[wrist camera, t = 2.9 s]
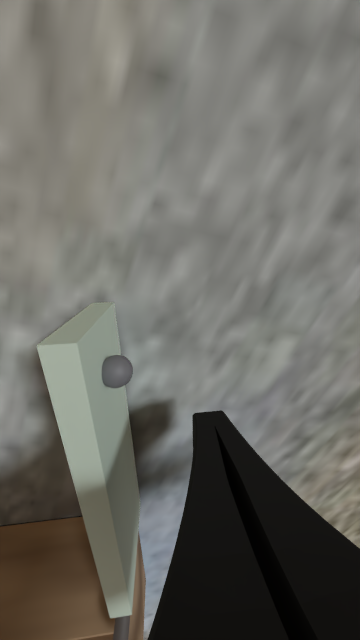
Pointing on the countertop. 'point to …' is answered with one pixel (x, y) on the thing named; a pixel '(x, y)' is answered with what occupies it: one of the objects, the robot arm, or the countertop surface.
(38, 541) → the cabinet
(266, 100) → the countertop surface
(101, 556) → the door
